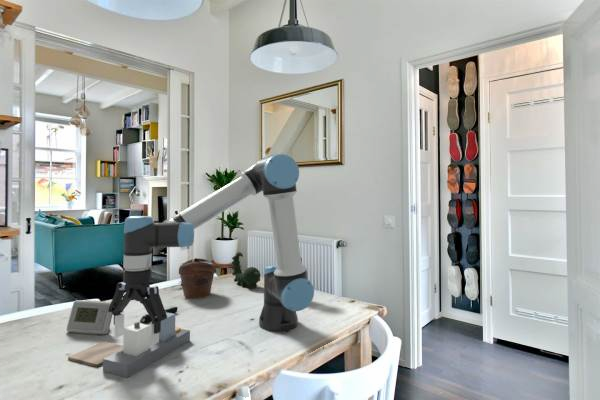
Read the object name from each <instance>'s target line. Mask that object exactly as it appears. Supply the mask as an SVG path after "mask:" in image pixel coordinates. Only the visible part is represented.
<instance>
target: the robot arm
mask: <svg viewBox="0 0 600 400" xmlns="http://www.w3.org/2000/svg"><path fill="white" fill-rule="evenodd" d="M299 178H300V168H299V166H298V163H297V162H296V161H295V159H294V158H292V157H291V156H290V155H288V154H284V153H276V154H271V155H270V156H267V157H266V156H265V157H263V158H261V159H260V160H258V161H256V162H255V163H254V164H253V165H251V166H250V167H249V168H248V169H246V170H244V171H243V172H241V173H240V175H239V177H238V178H236V179H235V180H232V181H231V182H230V183H227V184H226V185H224V186H223V187H221V188H220V189H217V190H216V191H214V192H213V193H211V194H209V195H208V196H206V197H204V198H202V199H201V200H199V201H198V202H196V203H193V204H192V205H191V206H189V207H187V208H186V209H184V210H183V211H180V212H179V213H177V214H176V215H173V216H172V217H171V218H167V219H165V220H164V221H162V222H154V221H153V217H152V216H149V215H131V216H128V217H126V218H125V220H124V227H123V228H124V229H123V263H122V265H123V272H122V273H123V278H122V281H121V282H118V283H116V289H115V292H114V295H113V297H112V298H111V299H112V300H111V301H110V302H111V304H110V306H109V309H108V312H112V313H113V315H112V316H113V326H114V338H115V339H118V338H119V337H122V336H124V328H125V313H124V310H125V308H126V307H127V306H128V305H129V303H130V302H131V301H136V302H139V303H140V304H142V305H143V307H144V309H145V311H146V312H147V314H148V315H149V316H150V318H151V319H152V321H153V322H152V321H150V323H149V325H150V346H153V345H155V344H156V343H158V342H159V332H160V331H161V321H162V320H165V319H167V315H166V312H165V310H166V309H165V306H164V304H163V302H162V298H161V296H160V291H159V290H160V288H159V286H158V285H155V286H151V285H150V283H151V280H152V260H153V259H152V257H153V251H152V250H153V248H154V249H155V248H156V249H157V248H185V247H191V246H193V245H194V241H195V240H194V239H195V230H196V229H197V228H199V227H200V226H202V225H203V224H205V223H207V222H210V220H212V219H214V218H215V217H216V216H218V215H220V214H222V213H224V212H225V211H227V210H228V209H229V208H231V207H233V206H235V205H236V204H238V203H239V202H242V201H243V200H244V199H246V198H248V197H249V196H251V195H253V196H256V195H257V194H260V193H261V192H262V195H263V197H264V198H266V199H267V200H268V206H269V214H270V222H271V230H272V238H273V244H274V251H275V252H274V253H275V259H276V264H273V265H267V266H265V268H264V273H263V277H264V278H263V282H264V283H263V288H264V289H263V306H262V309H261V312H260V314H259V319H258V326H260V328H262V329H264V330H266V331H271V332H284V331H285V332H286V331H290V330H293V329H295V328H296V327H298V325H299V318H298V314H297V312H300V311H303V310H305V309H306V308H307V307H309V306H310V304H311V302H313V300H314V295H315V288H314V285H313V284H312V282H311V281H310V280H309V279H308V271H307V267H306V266H305V265H303V263H302V264H301V258H302V256H301V250H300V249H301V248H300V241H299V235H298V234H299V233H298V228H297V227H298V225H297V217H296V211H295V203H294V196H295V195H296V193H297V191H298V190H297V182H298V180H299ZM156 317H157V318H156Z"/></svg>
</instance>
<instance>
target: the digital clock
mask: <svg viewBox="0 0 600 400" xmlns="http://www.w3.org/2000/svg"><path fill="white" fill-rule="evenodd" d="M72 304H73V305H72V307H71V311H70V314H69V318H68V322H67V326H66V332H69V333H75V334H82V335H83V334H84V335H95V336H98V335H102V336H104V335H107V334H109V332H110V331H109V330H110V327H111V323H112V319H113V316H114V315H113V313H112V312H108V309H109V306H110V304H111V301H103V300H87V299H85V300H81V299H79V300H78V299H76V300H74V301H73V303H72Z"/></svg>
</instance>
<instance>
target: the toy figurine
mask: <svg viewBox="0 0 600 400" xmlns="http://www.w3.org/2000/svg"><path fill="white" fill-rule="evenodd" d="M240 257H241V258H243V257H244V255H243V253H242V252H240V251H239V252H236V253H235V255H233V256H232V258H231V259H232V261H231V264H232V265H233V266H232V267H231V270H233V272H232V273H231V274H232V276H234V279H233V282H234V283H235V282H236V284H237V286H242V287H244V286H246V285H249V288H250V289H256V288H257V285H258V282H260V281H261V273H260V270H259V269H258V268H257V267H254V266H250V267H248V268H246V269H245V270H244V271H243V270H242V268H241V264H240V263H241V261H240Z"/></svg>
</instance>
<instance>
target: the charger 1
mask: <svg viewBox="0 0 600 400" xmlns="http://www.w3.org/2000/svg"><path fill="white" fill-rule="evenodd" d="M122 336H123V339H122V340H123V341H122V342H123V344H122V346H123V354H128V355H132V356H136V357H137V356H138V355H140V354H142V353H144V352H146V351H148V350H150V324H143V323H140V321H138V322H134V324H131V325H129V326H126V327H124V335H122Z"/></svg>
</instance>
